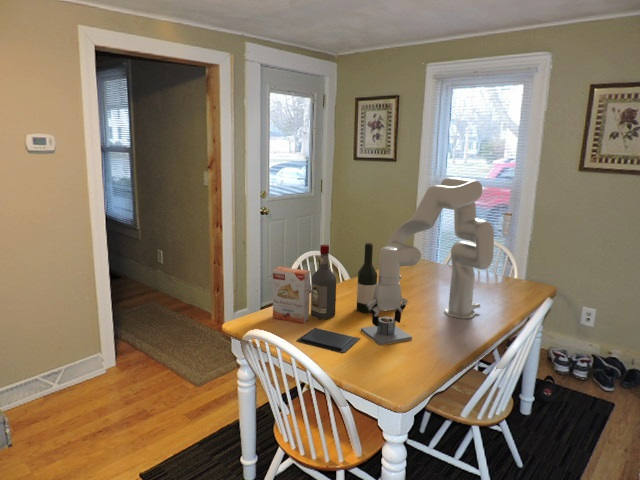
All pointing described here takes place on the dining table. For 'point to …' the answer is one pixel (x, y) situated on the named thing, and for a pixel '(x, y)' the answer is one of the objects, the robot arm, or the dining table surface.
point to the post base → (382, 339)
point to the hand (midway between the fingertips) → (386, 323)
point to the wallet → (328, 340)
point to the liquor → (323, 288)
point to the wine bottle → (366, 281)
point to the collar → (386, 327)
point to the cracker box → (291, 294)
